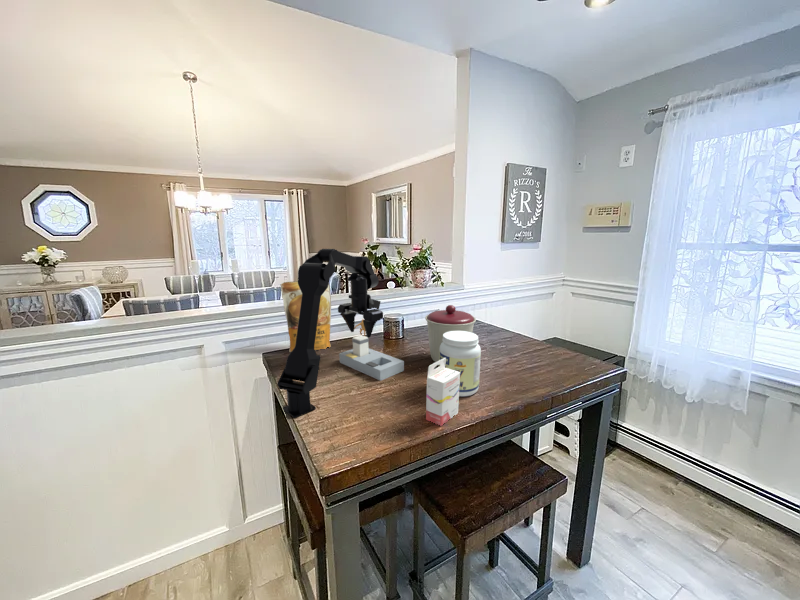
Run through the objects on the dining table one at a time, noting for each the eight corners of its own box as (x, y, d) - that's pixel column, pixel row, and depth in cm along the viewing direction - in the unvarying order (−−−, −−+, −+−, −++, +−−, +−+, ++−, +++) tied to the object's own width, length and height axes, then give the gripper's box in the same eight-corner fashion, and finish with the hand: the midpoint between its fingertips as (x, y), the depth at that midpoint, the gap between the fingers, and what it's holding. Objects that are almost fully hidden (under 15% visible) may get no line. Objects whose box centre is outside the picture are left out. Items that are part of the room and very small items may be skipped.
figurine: (371, 343, 142) (370, 316, 140) (374, 347, 137) (374, 319, 134) (351, 345, 140) (351, 317, 137) (354, 350, 134) (353, 321, 131)
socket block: (403, 370, 114) (404, 360, 113) (380, 380, 106) (380, 369, 106) (362, 354, 129) (362, 345, 128) (339, 362, 121) (339, 352, 121)
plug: (368, 360, 121) (368, 337, 120) (360, 364, 118) (359, 340, 117) (361, 358, 124) (361, 335, 122) (353, 361, 121) (352, 337, 119)
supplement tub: (431, 391, 100) (432, 337, 96) (448, 376, 110) (450, 327, 106) (469, 402, 93) (472, 345, 89) (484, 385, 103) (487, 333, 99)
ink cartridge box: (442, 427, 81) (443, 371, 78) (425, 420, 84) (426, 366, 81) (459, 412, 88) (461, 360, 85) (443, 406, 91) (444, 356, 88)
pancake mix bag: (285, 349, 135) (280, 281, 129) (332, 343, 141) (329, 278, 136) (285, 354, 129) (280, 283, 123) (334, 348, 135) (332, 281, 130)
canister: (419, 367, 117) (420, 309, 113) (430, 350, 134) (431, 298, 129) (471, 373, 112) (474, 313, 107) (475, 354, 129) (478, 301, 124)
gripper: (394, 292, 116) (394, 335, 119) (360, 286, 128) (361, 325, 131) (370, 297, 108) (371, 342, 111) (336, 290, 120) (338, 331, 124)
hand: (360, 334), depth 119 cm, fingers open, 9 cm apart
